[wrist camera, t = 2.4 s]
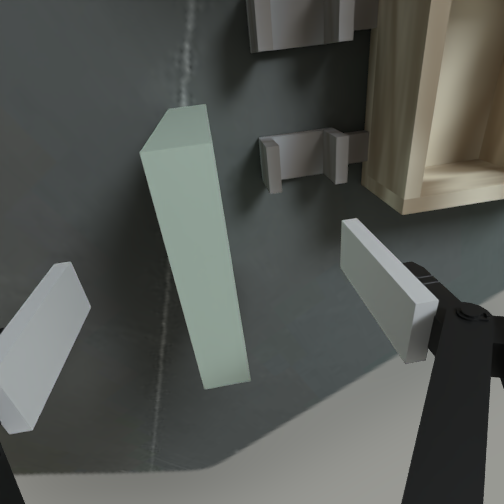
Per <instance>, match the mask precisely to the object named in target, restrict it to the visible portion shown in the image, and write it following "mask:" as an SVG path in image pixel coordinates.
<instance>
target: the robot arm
mask: <svg viewBox="0 0 504 504" xmlns="http://www.w3.org/2000/svg"><path fill="white" fill-rule="evenodd" d="M340 268H341V269H342V271H343V272H344V274H345V275H346V277H347V278H348V280H349V281H350V283H351V284H352V286H353V287H354V289H355V290H356V291H357V293H358V294H359V296H360V297H361V299H362V300H363V302H364V303H365V305H366V306H367V308H368V309H369V311H370V312H371V314H372V315H373V317H374V318H375V320H376V321H377V323H378V324H379V326H380V327H381V329H382V330H383V332H384V333H385V335H386V336H387V338H388V339H389V341H390V342H391V344H392V345H393V346H394V348H395V349H396V351H397V352H398V354H399V355H400V357H401V358H402V360H403V361H404V363H405V364H408V363H413V362H419V361H425V360H426V356H427V352H428V348H429V350H430V351H431V352H432V353H433V355H434V356H435V361H434V365H433V369H432V373H431V378H430V382H429V386H428V391H427V395H426V400H425V404H424V408H423V412H422V417H421V421H420V425H419V430H418V434H417V438H416V443H415V447H414V451H413V455H412V460H411V464H410V468H409V473H408V477H407V481H406V486H405V490H404V495H403V499H402V503H401V504H483V497H484V481H485V463H486V447H487V430H488V413H489V397H490V380H491V377H499V378H500V379H501V382H502V385H503V388H504V317H503V316H492V315H491V314H490V313H489V312H488V311H487V310H486V309H484V308H482V307H481V306H478V305H475V304H472V303H466V302H461V301H460V300H458V299H457V298H456V297H455V296H454V295H453V294H452V293H451V292H450V291H449V290H448V289H447V288H445V287H444V286H443V285H442V284H441V283H440V282H438V280H437V279H436V278H435V277H433V276H432V275H431V274H430V273H429V272H428V271H427V270H426V269H425V268H424V267H422V266H420V265H418V264H416V263H414V262H406V263H401V262H400V261H399V260H398V259H397V258H396V257H395V256H394V255H393V254H392V253H391V252H390V251H389V250H388V249H387V248H386V247H385V246H384V245H383V244H382V243H381V242H380V241H379V240H378V239H377V238H376V237H375V236H374V235H373V234H372V233H371V232H370V231H369V230H368V229H367V228H366V227H365V226H364V225H363V224H362V223H361V222H360V221H359V220H358V219H357V218H354V219H347V220H342V227H341V259H340ZM90 308H91V306H90V303H89V301H88V299H87V297H86V294H85V292H84V290H83V288H82V285H81V283H80V281H79V279H78V277H77V274H76V272H75V270H74V268H73V265H72V263H71V262H64V263H58V264H54V265H53V266H52V268H51V269H50V270H49V271H48V273H47V274H46V275H45V277H44V278H43V279H42V281H41V282H40V283H39V285H38V286H37V287H36V288H35V290H34V291H33V292H32V294H31V295H30V296H29V298H28V299H27V300H26V302H25V303H24V304H23V305H22V307H21V308H20V309H19V311H18V312H17V313H16V315H15V316H14V317H13V319H12V320H11V321H10V322H9V324H8V325H7V326H6V328H1V329H0V425H1V424H2V426H3V427H4V428H5V429H6V431H7V432H8V433H9V434H14V433H20V432H25V431H31V430H33V428H34V426H35V424H36V422H37V420H38V418H39V416H40V414H41V412H42V409H43V407H44V405H45V403H46V401H47V399H48V397H49V395H50V393H51V391H52V388H53V386H54V384H55V382H56V380H57V378H58V376H59V374H60V372H61V369H62V367H63V365H64V363H65V361H66V359H67V357H68V355H69V353H70V351H71V348H72V346H73V344H74V342H75V340H76V338H77V336H78V334H79V332H80V329H81V327H82V325H83V323H84V321H85V319H86V317H87V315H88V313H89V311H90ZM0 504H25V502H24V500H23V497H22V495H21V493H20V490H19V488H18V485H17V483H16V480H15V478H14V475H13V473H12V470H11V468H10V465H9V463H8V460H7V458H6V455H5V453H4V450H3V448H2V445H1V443H0Z"/></svg>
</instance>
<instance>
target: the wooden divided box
mask: <svg viewBox="0 0 504 504" xmlns="http://www.w3.org/2000/svg"><path fill="white" fill-rule="evenodd" d="M246 8H247V19H248V30H249V41H250V52H251V53H255V52H263V51H272V50H280V49H288V48H296V47H305V46H313V45H321V44H329V43H337V42H343V41H350V40H353V32H354V31H358V30H366V29H371V36H370V52H369V68H368V83H367V99H366V114H365V130H362V131H355V132H348V133H342V132H340V131H338V130H336V129H334V128H332V127H331V128H323V129H316V130H309V131H302V132H295V133H287V134H280V135H273V136H266V137H259V149H260V160H261V171H262V180H263V182H264V184H265V186H266V188H267V189H268V191H269V193H270V194H275V193H282V182H281V180H283V179H289V178H296V177H303V176H310V175H316V174H324V175H326V176H327V177H328V178H329V179H330V180H331V181H332V182H333V183H335V184H341V183H347V175H348V164H351V163H358V162H362V177H361V185H363V186H364V187H365V188H367V189H368V190H369V191H371V192H372V193H373V194H375V195H376V196H377V197H379V198H380V199H381V200H383V201H384V202H385V203H387V204H388V205H389V206H391V207H392V208H393V209H395V210H396V211H397V212H399V213H400V214H401V215H406V214H412V213H418V212H424V211H431V210H437V209H443V208H449V207H456V206H462V205H468V204H474V203H481V202H487V201H493V200H500V199H504V0H246Z"/></svg>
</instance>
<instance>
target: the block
mask: <svg viewBox="0 0 504 504" xmlns="http://www.w3.org/2000/svg"><path fill="white" fill-rule="evenodd" d="M140 156H141V160H142V164H143V167H144V171H145V175H146V178H147V182H148V186H149V189H150V193H151V196H152V200H153V204H154V207H155V211H156V215H157V218H158V222H159V226H160V229H161V233H162V236H163V240H164V244H165V247H166V251H167V255H168V258H169V262H170V266H171V269H172V273H173V277H174V280H175V284H176V287H177V291H178V295H179V298H180V302H181V306H182V309H183V313H184V317H185V320H186V324H187V328H188V331H189V335H190V338H191V342H192V346H193V349H194V353H195V357H196V360H197V364H198V368H199V371H200V375H201V379H202V382H203V386H204V389H210V388H216V387H221V386H226V385H232V384H237V383H242V382H247V381H251V379H250V373H249V366H248V360H247V354H246V348H245V342H244V336H243V329H242V323H241V317H240V311H239V305H238V298H237V292H236V286H235V280H234V274H233V268H232V261H231V255H230V249H229V243H228V237H227V231H226V224H225V218H224V212H223V206H222V200H221V193H220V187H219V181H218V175H217V169H216V163H215V156H214V150H213V144H212V138H211V132H210V126H209V121H208V115H207V109H206V104H203V105H195V106H188V107H180V108H172V109H168V110H167V112H166V113H165V115H164V116H163V118H162V119H161V121H160V122H159V124H158V125H157V127H156V129H155V130H154V132H153V133H152V135H151V136H150V138H149V139H148V141H147V142H146V144H145V145H144V147H143V148H142V150H141V151H140Z"/></svg>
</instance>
